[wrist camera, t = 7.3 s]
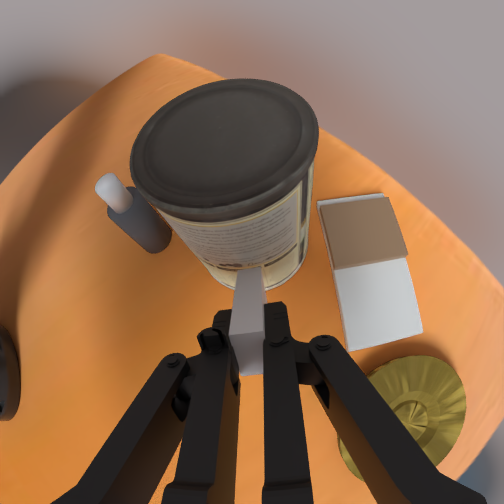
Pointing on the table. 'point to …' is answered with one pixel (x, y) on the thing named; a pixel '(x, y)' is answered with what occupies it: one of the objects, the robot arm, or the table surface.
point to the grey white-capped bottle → (133, 214)
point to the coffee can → (233, 175)
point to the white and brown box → (369, 270)
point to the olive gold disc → (421, 403)
